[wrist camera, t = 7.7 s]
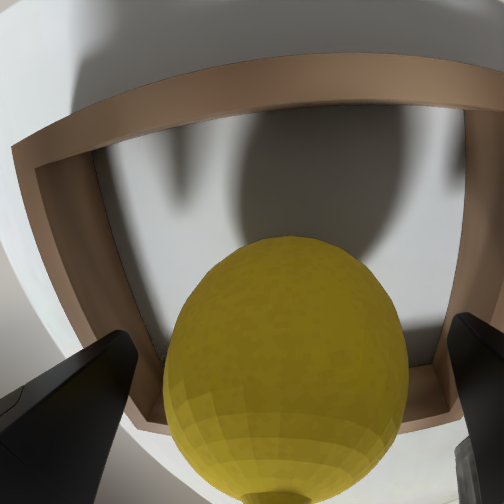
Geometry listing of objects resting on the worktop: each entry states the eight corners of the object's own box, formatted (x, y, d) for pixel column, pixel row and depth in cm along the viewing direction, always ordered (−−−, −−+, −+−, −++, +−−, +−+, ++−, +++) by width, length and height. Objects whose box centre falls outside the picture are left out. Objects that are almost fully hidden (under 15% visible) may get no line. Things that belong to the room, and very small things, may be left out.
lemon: (376, 319, 11) (420, 520, 4) (242, 345, 12) (197, 532, 5) (354, 180, 9) (506, 401, 1) (190, 223, 10) (36, 423, 3)
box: (482, 84, 6) (537, 83, 4) (443, 373, 12) (460, 419, 9) (67, 133, 9) (11, 146, 6) (156, 386, 14) (137, 429, 12)
